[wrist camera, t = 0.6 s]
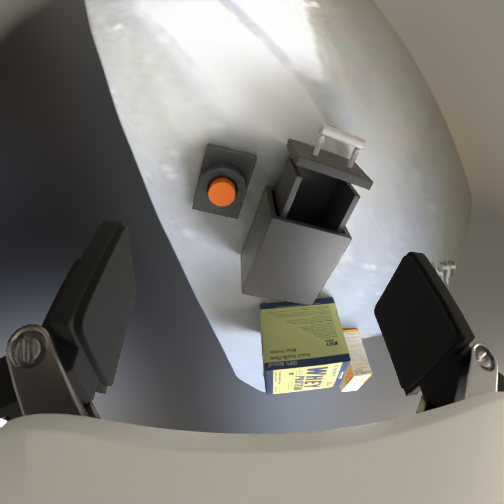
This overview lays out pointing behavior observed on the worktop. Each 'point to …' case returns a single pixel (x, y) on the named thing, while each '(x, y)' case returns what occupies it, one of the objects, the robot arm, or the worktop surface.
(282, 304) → the protein box
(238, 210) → the block
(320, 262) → the dark grey cabinet
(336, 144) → the worktop surface
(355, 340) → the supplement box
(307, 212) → the drawer
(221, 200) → the button
